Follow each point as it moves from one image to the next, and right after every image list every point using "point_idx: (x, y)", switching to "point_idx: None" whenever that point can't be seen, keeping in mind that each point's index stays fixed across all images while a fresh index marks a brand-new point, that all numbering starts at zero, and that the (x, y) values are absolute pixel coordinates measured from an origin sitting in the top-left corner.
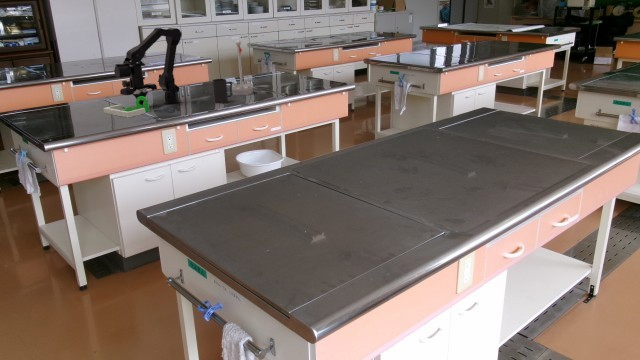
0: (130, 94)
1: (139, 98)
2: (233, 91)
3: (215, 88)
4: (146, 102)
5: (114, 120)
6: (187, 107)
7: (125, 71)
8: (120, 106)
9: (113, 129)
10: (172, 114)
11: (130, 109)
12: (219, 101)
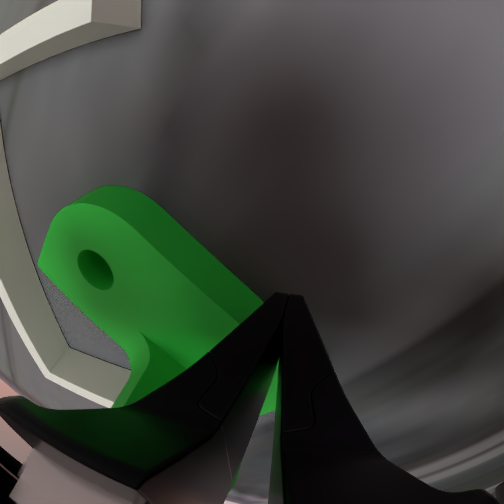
0: (14, 463)
1: None
2: None
3: None
4: None
5: (7, 317)
6: (431, 476)
7: None
8: (77, 35)
9: (14, 380)
10: (263, 484)
11: (89, 315)
12: (496, 496)
